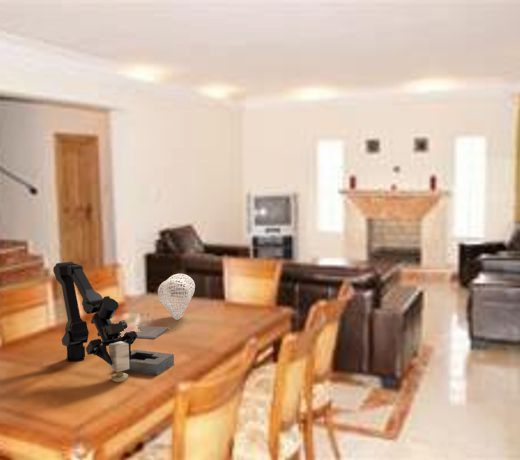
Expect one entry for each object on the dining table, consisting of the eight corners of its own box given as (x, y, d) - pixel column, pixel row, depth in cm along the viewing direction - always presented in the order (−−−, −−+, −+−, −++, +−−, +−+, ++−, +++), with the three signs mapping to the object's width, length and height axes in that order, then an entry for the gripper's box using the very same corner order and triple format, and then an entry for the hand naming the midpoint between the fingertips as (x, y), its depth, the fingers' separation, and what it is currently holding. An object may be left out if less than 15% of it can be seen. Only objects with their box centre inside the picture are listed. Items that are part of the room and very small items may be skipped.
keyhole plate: (115, 370, 222) (114, 359, 222) (133, 359, 234) (133, 349, 234) (157, 375, 216) (156, 364, 216) (173, 364, 228) (173, 354, 228)
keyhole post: (108, 379, 213) (107, 344, 212) (122, 374, 217) (121, 340, 216) (117, 383, 209) (116, 347, 207) (131, 378, 213) (130, 343, 212)
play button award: (155, 336, 264) (114, 334, 268) (155, 340, 264) (114, 337, 268) (168, 327, 279) (129, 325, 284) (168, 330, 279) (130, 328, 284)
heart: (169, 312, 312) (168, 271, 310) (197, 313, 311) (197, 271, 309) (155, 326, 285) (154, 281, 282) (186, 327, 283) (185, 281, 281)
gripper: (88, 318, 207) (106, 355, 200) (134, 309, 220) (151, 344, 213) (78, 336, 213) (95, 372, 206) (123, 326, 226) (140, 360, 219)
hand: (121, 362), depth 211 cm, fingers open, 7 cm apart
